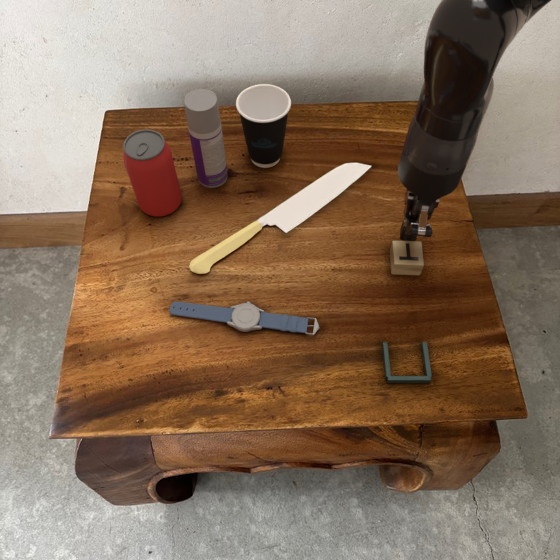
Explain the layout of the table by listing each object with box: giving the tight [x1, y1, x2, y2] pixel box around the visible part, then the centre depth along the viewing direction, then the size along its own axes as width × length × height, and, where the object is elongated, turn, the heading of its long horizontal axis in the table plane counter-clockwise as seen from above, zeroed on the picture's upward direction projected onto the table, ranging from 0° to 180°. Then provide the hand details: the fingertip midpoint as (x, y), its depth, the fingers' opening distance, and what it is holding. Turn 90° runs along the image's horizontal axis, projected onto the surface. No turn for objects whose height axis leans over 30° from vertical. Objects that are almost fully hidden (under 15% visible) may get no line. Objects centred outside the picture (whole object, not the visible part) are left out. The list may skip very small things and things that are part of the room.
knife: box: [188, 162, 372, 275], centre depth 81 cm, size 1×34×5 cm
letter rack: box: [381, 341, 433, 384], centre depth 69 cm, size 5×6×1 cm
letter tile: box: [389, 239, 425, 276], centre depth 76 cm, size 4×4×3 cm
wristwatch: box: [169, 301, 321, 336], centre depth 72 cm, size 4×20×1 cm, turn 81°
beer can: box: [122, 128, 183, 217], centre depth 78 cm, size 7×7×12 cm
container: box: [183, 88, 229, 189], centre depth 79 cm, size 5×5×15 cm
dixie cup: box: [235, 83, 292, 169], centre depth 83 cm, size 8×8×11 cm
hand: (407, 236), depth 78 cm, fingers closed
